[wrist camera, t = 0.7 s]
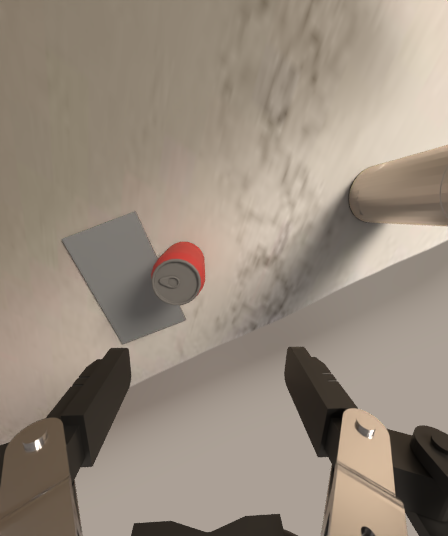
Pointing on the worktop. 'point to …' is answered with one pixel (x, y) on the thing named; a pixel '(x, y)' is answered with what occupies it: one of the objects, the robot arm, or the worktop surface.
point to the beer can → (179, 274)
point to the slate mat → (122, 276)
